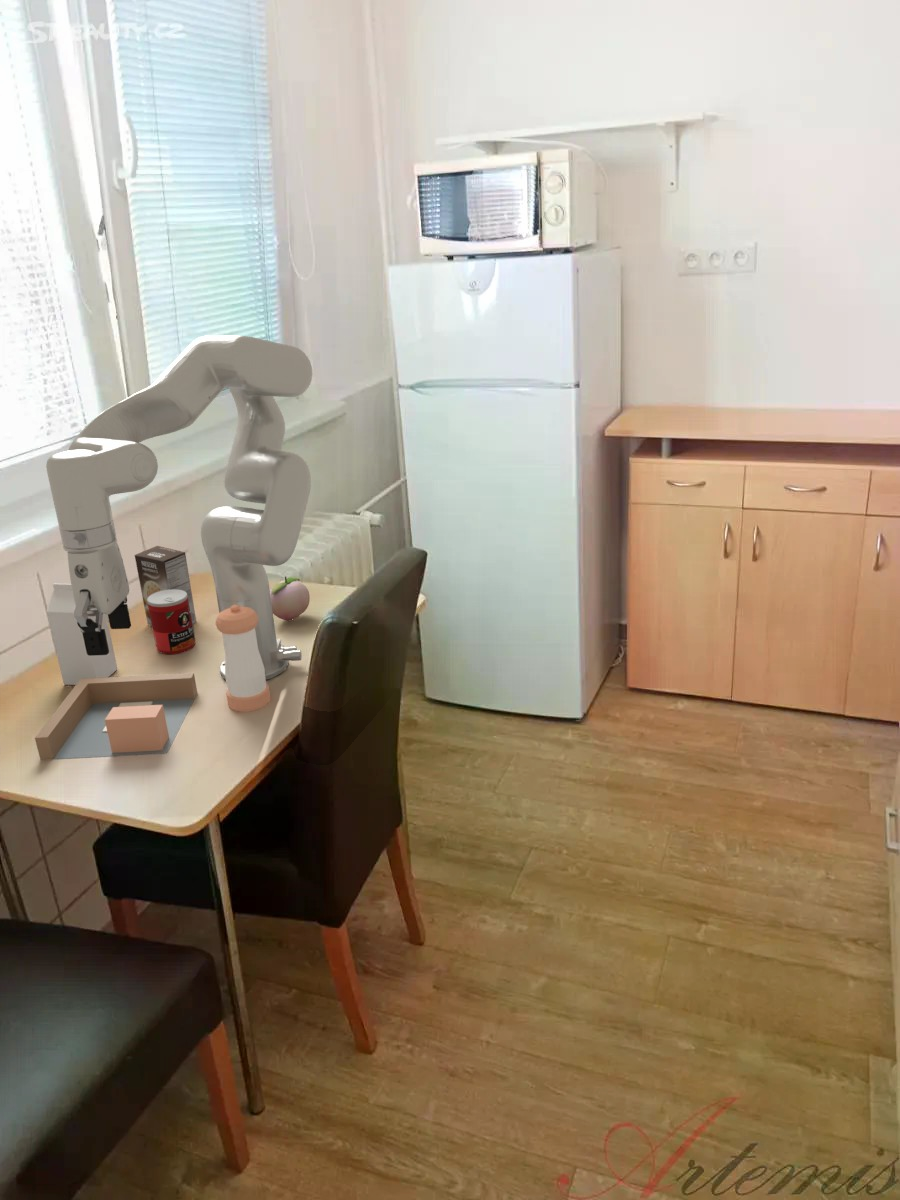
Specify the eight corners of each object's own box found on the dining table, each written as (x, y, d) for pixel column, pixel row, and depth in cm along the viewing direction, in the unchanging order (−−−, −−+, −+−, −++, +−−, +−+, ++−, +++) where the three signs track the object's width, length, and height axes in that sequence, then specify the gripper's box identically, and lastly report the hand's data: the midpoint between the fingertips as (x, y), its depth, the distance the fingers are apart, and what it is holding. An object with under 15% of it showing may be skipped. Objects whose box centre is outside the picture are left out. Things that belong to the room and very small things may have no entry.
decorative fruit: (300, 631, 189) (294, 586, 185) (264, 628, 191) (258, 583, 187) (319, 613, 197) (314, 570, 193) (285, 610, 199) (279, 567, 196)
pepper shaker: (234, 697, 163) (218, 598, 156) (275, 696, 163) (261, 596, 156) (224, 718, 157) (207, 615, 149) (266, 716, 156) (251, 613, 149)
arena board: (198, 698, 164) (193, 672, 162) (168, 759, 145) (162, 731, 143) (86, 704, 164) (80, 678, 162) (42, 766, 145) (34, 737, 143)
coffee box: (146, 625, 196) (132, 554, 190) (169, 614, 201) (156, 545, 195) (175, 633, 191) (162, 560, 185) (198, 622, 196) (186, 551, 190)
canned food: (175, 658, 180) (166, 606, 176) (147, 650, 184) (137, 599, 180) (204, 643, 186) (195, 592, 182) (176, 635, 190) (167, 586, 186)
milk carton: (98, 687, 170) (76, 592, 163) (63, 685, 171) (41, 591, 164) (118, 669, 176) (98, 577, 169) (84, 668, 178) (64, 576, 171)
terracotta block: (169, 737, 149) (162, 704, 147) (162, 750, 146) (155, 717, 143) (120, 739, 149) (112, 707, 147) (112, 752, 146) (104, 719, 143)
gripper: (91, 553, 127) (114, 664, 134) (133, 517, 143) (151, 618, 150) (38, 555, 128) (63, 666, 134) (86, 519, 144) (106, 619, 150)
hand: (110, 640), depth 142 cm, fingers open, 9 cm apart
